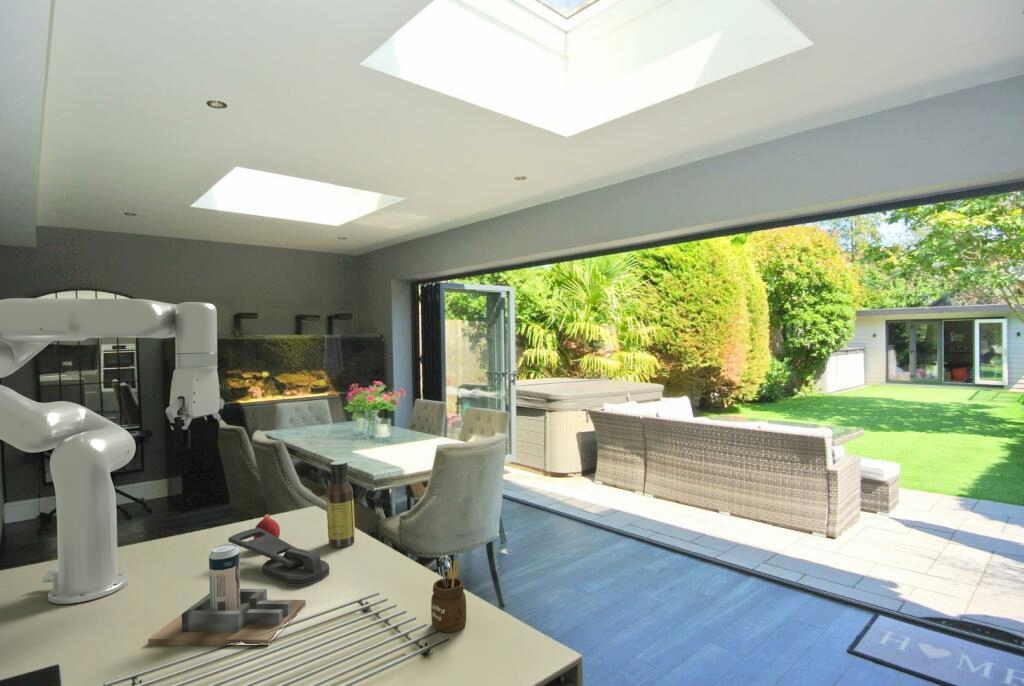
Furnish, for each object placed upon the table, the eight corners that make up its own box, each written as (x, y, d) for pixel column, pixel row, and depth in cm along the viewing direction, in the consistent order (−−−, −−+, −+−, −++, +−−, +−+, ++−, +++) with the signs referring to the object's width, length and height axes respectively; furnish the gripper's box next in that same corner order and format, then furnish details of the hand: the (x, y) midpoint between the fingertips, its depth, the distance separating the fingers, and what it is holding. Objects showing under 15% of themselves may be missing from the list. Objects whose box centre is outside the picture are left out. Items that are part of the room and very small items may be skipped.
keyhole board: (148, 645, 91) (147, 620, 91) (201, 604, 105) (200, 583, 105) (268, 645, 90) (268, 620, 90) (305, 605, 104) (305, 583, 104)
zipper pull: (259, 525, 131) (335, 542, 118) (260, 554, 131) (336, 574, 118) (223, 537, 123) (300, 556, 110) (223, 567, 123) (300, 590, 110)
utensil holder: (458, 613, 99) (457, 545, 99) (472, 628, 94) (471, 556, 94) (426, 621, 96) (425, 551, 97) (439, 638, 91) (437, 563, 91)
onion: (273, 552, 131) (273, 518, 131) (249, 553, 131) (248, 519, 131) (284, 544, 137) (283, 511, 137) (260, 544, 137) (260, 511, 137)
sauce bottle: (338, 538, 140) (336, 458, 140) (360, 540, 138) (358, 459, 138) (322, 547, 134) (320, 463, 134) (344, 549, 132) (342, 465, 132)
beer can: (246, 614, 98) (245, 546, 98) (220, 626, 94) (218, 555, 94) (231, 608, 101) (229, 541, 101) (204, 619, 97) (202, 550, 97)
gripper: (205, 361, 125) (206, 438, 125) (149, 363, 108) (150, 452, 107) (237, 360, 124) (238, 438, 124) (186, 363, 107) (187, 453, 107)
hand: (197, 444), depth 116 cm, fingers open, 9 cm apart
